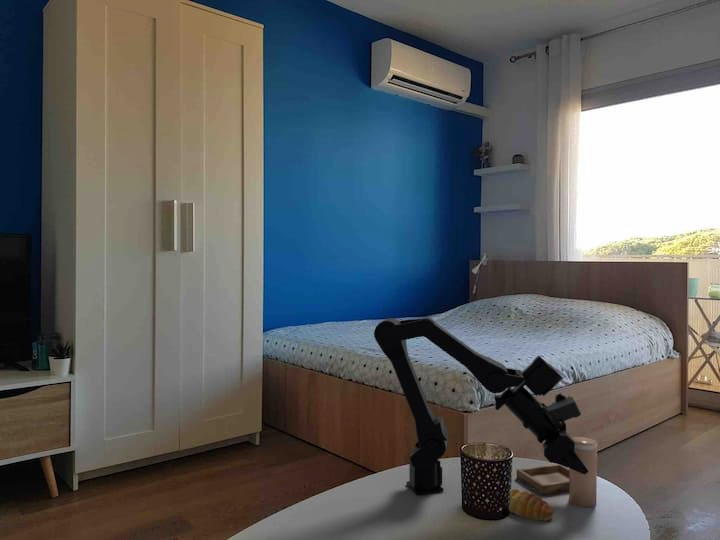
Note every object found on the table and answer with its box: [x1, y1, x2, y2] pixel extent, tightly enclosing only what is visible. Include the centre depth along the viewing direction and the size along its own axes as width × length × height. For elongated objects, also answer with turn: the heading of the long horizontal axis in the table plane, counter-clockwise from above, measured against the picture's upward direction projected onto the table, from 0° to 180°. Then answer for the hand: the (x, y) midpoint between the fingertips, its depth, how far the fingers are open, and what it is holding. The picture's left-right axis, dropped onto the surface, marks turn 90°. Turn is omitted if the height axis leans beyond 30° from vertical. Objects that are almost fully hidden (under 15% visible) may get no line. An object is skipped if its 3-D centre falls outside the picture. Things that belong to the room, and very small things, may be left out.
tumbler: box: [568, 436, 598, 509], centre depth 119 cm, size 6×6×13 cm
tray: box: [516, 463, 569, 496], centre depth 129 cm, size 12×10×2 cm
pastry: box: [509, 488, 555, 522], centre depth 114 cm, size 9×7×4 cm
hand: (582, 464), depth 119 cm, fingers open, 9 cm apart
